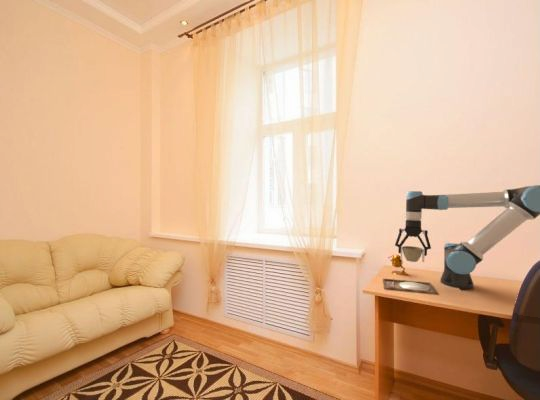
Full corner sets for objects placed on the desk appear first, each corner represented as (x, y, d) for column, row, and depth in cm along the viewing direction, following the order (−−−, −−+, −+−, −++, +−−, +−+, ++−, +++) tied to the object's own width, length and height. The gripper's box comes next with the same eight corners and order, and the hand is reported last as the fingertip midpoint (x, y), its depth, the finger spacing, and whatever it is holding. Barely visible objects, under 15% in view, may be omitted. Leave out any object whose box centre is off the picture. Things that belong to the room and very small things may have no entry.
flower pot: (424, 263, 145) (425, 250, 145) (403, 262, 148) (404, 248, 147) (420, 259, 154) (420, 246, 154) (400, 257, 157) (400, 245, 157)
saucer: (426, 284, 151) (426, 283, 151) (431, 293, 138) (431, 291, 138) (398, 282, 156) (398, 280, 156) (400, 290, 143) (400, 288, 143)
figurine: (387, 271, 180) (387, 253, 180) (405, 272, 178) (405, 253, 178) (390, 275, 172) (390, 255, 172) (409, 276, 170) (409, 256, 170)
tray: (429, 285, 152) (430, 282, 152) (436, 295, 136) (436, 292, 136) (382, 281, 160) (382, 278, 160) (384, 290, 144) (384, 287, 144)
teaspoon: (391, 281, 156) (391, 281, 156) (395, 282, 155) (395, 281, 155) (389, 287, 147) (389, 286, 147) (393, 287, 146) (393, 286, 146)
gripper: (436, 220, 149) (435, 261, 150) (390, 217, 158) (389, 256, 159) (438, 221, 142) (437, 264, 143) (390, 218, 151) (389, 259, 152)
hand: (412, 260), depth 151 cm, fingers closed on flower pot, 10 cm apart
